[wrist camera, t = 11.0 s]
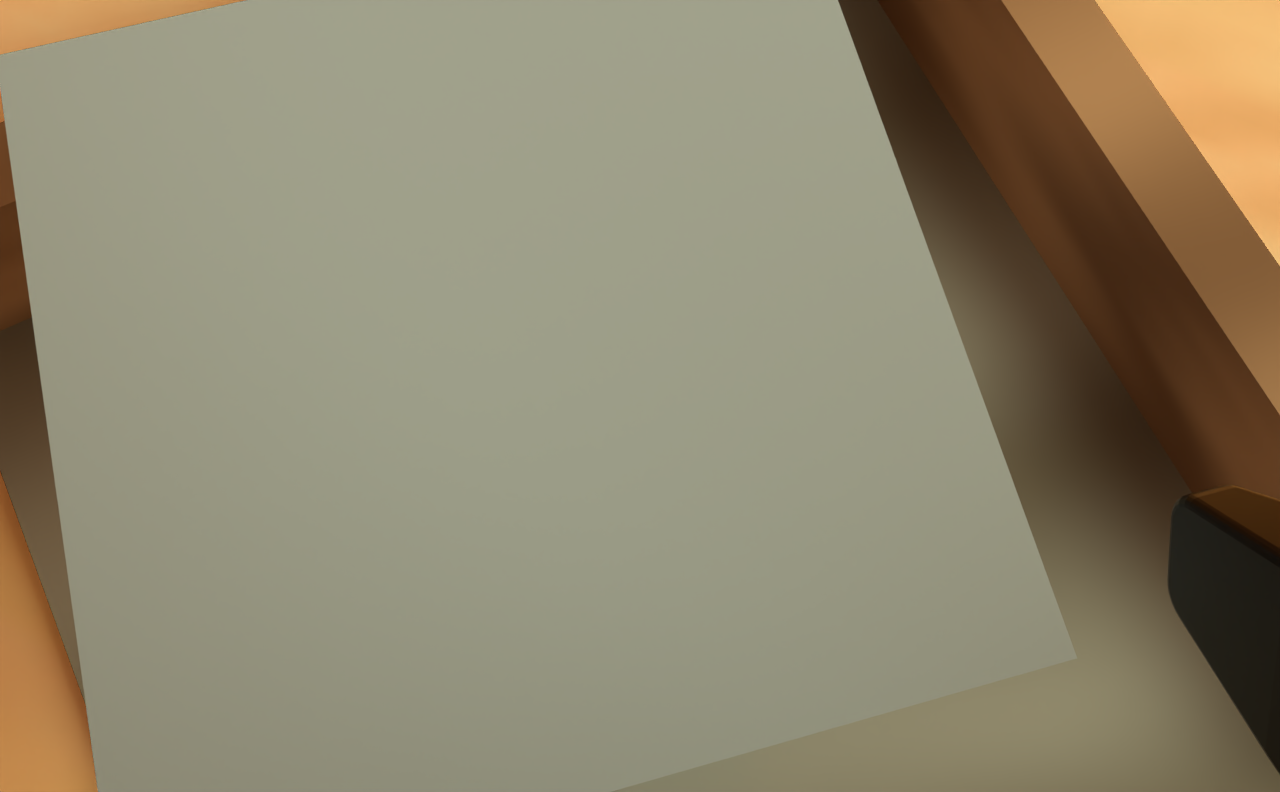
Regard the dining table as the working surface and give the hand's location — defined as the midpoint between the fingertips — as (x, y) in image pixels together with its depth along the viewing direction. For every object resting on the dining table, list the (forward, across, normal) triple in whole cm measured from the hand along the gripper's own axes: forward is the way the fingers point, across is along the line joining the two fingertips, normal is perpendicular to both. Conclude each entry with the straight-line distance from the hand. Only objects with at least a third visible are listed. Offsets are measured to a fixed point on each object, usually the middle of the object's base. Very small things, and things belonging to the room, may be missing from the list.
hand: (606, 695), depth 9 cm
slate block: (+7, 0, +5) cm, 9 cm away
